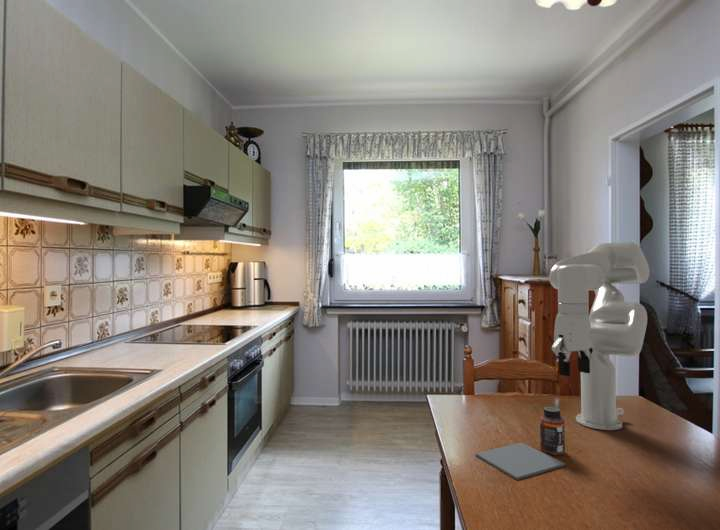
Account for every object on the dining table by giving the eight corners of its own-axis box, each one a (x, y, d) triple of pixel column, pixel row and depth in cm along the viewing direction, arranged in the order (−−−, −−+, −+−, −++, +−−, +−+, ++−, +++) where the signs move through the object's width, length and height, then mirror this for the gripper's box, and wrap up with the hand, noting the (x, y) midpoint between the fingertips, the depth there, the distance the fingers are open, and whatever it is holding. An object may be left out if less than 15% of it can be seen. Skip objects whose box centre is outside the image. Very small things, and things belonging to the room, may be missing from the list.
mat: (521, 444, 115) (521, 442, 115) (565, 465, 102) (565, 463, 102) (475, 455, 108) (475, 453, 108) (516, 480, 95) (516, 477, 95)
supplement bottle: (567, 457, 107) (567, 413, 107) (543, 455, 108) (542, 412, 108) (561, 447, 112) (560, 406, 113) (538, 446, 114) (537, 404, 114)
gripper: (582, 307, 122) (583, 367, 121) (539, 310, 114) (540, 374, 114) (606, 309, 115) (608, 373, 115) (563, 312, 108) (564, 380, 107)
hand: (574, 373), depth 114 cm, fingers open, 7 cm apart
